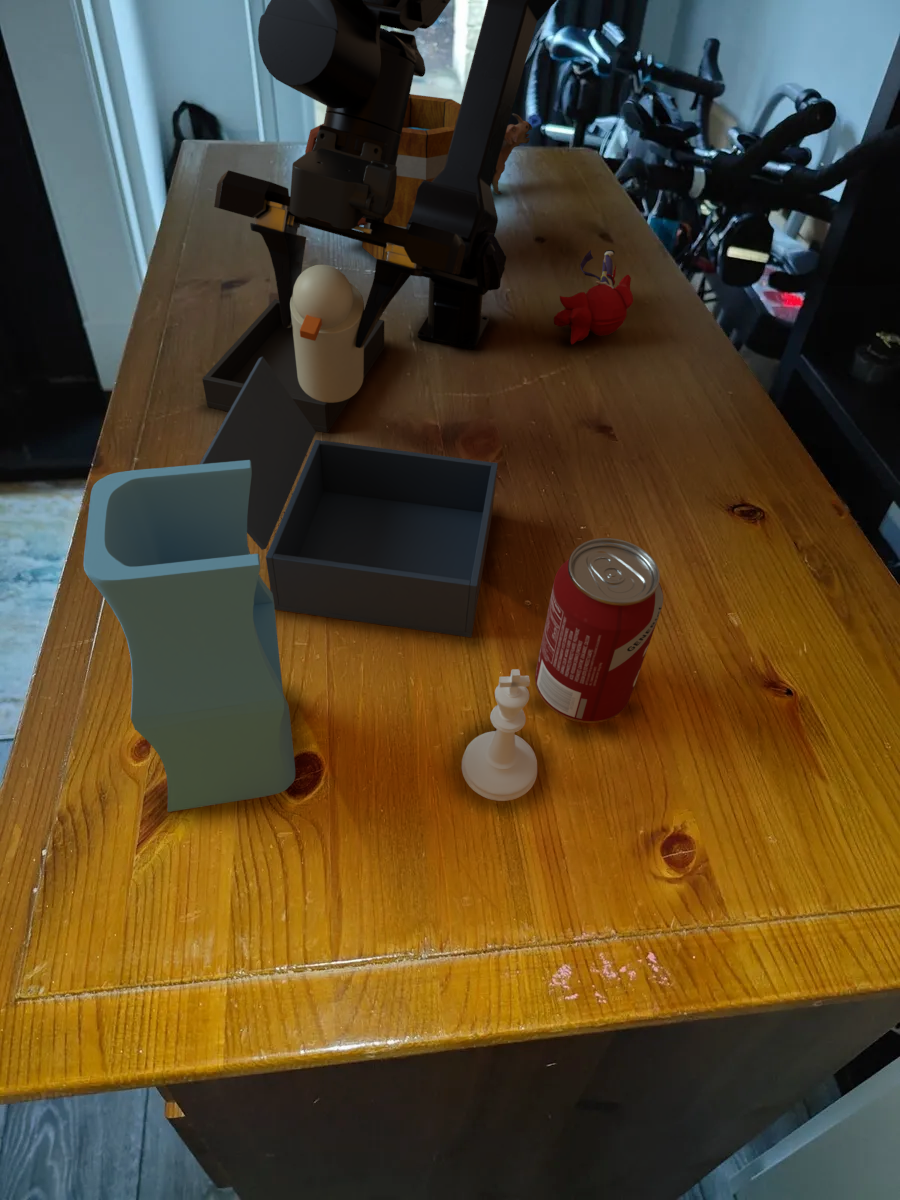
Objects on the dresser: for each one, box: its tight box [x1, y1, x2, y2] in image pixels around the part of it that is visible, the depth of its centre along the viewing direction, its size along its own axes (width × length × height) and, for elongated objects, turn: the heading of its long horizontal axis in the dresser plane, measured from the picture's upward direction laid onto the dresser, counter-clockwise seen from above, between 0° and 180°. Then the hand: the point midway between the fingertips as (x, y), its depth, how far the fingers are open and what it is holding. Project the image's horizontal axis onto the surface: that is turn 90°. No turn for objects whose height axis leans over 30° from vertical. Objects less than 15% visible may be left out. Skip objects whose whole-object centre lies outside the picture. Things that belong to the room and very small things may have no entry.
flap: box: [199, 357, 317, 551], centre depth 61 cm, size 14×7×1 cm
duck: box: [290, 264, 365, 403], centre depth 69 cm, size 8×6×13 cm
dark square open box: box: [265, 439, 499, 638], centre depth 65 cm, size 14×15×6 cm
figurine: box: [553, 249, 634, 345], centre depth 93 cm, size 6×8×15 cm
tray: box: [202, 298, 386, 434], centre depth 84 cm, size 16×12×3 cm
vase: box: [83, 460, 296, 813], centre depth 47 cm, size 8×8×20 cm
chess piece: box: [461, 668, 538, 802], centre depth 51 cm, size 5×5×10 cm
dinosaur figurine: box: [491, 113, 533, 195], centre depth 115 cm, size 14×6×9 cm, turn 139°
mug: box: [304, 93, 461, 260], centre depth 100 cm, size 20×14×15 cm
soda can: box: [534, 537, 664, 724], centre depth 55 cm, size 7×7×12 cm
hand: (322, 337), depth 68 cm, fingers closed on duck, 6 cm apart
